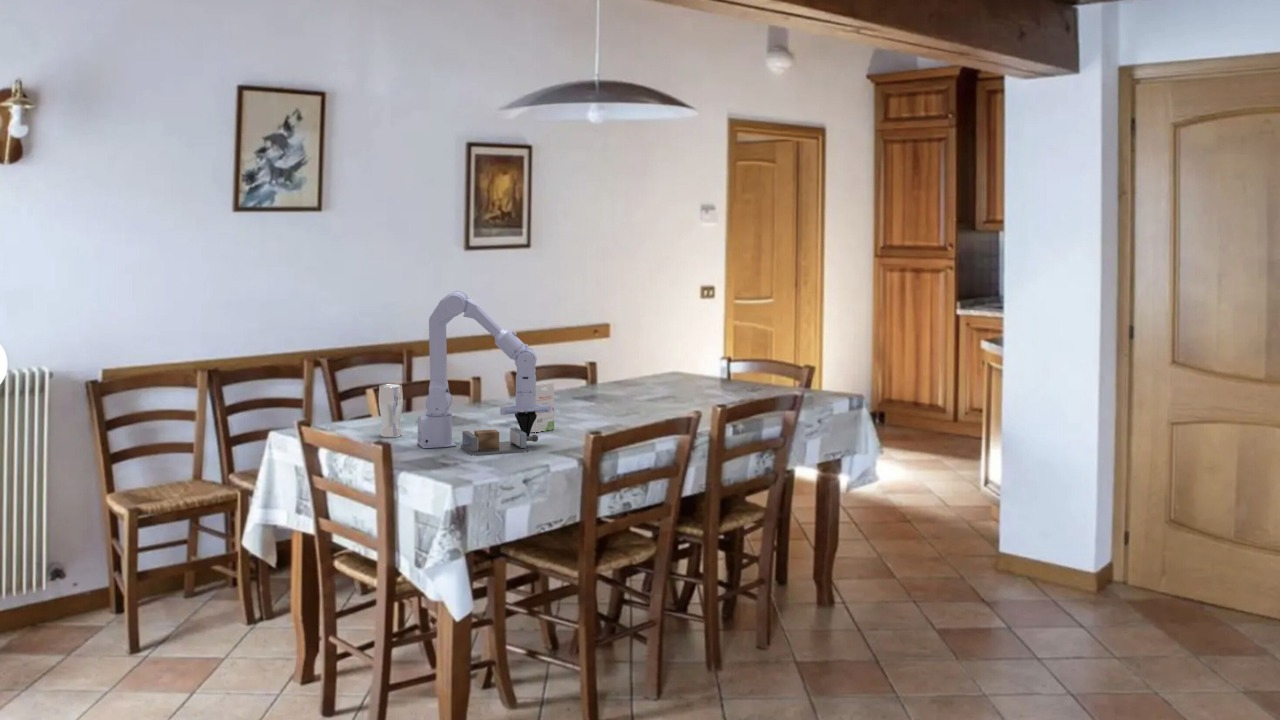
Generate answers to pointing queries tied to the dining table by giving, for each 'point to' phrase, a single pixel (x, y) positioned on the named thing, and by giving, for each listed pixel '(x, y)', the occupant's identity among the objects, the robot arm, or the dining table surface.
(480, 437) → the block
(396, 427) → the beer glass
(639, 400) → the dining table surface
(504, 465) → the dining table surface
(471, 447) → the vise
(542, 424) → the ink box
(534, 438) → the slide jaw
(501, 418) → the dining table surface
